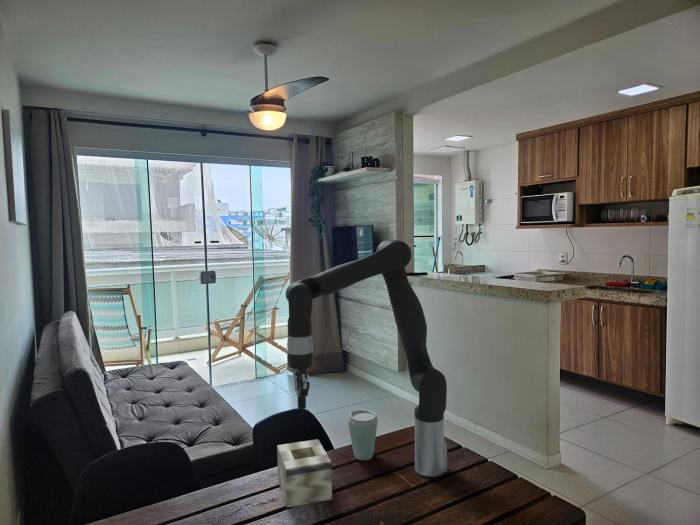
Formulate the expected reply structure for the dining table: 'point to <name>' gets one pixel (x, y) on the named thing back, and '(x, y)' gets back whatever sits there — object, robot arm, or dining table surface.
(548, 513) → the dining table surface
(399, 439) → the dining table surface
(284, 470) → the socket block
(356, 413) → the disposable coffee cup
